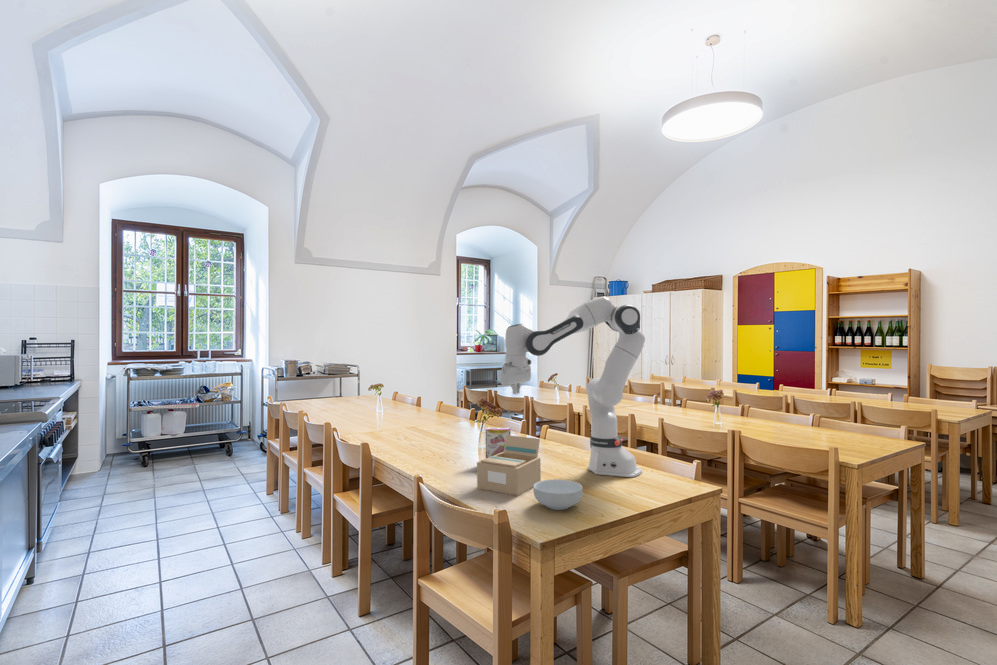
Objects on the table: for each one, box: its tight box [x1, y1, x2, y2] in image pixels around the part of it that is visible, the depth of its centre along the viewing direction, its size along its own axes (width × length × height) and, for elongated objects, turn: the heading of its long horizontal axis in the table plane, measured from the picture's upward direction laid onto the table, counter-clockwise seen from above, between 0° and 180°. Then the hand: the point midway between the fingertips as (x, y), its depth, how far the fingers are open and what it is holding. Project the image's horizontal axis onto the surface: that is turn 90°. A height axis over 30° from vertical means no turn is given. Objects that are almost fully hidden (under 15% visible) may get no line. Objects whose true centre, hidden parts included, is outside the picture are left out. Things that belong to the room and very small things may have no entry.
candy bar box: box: [485, 427, 512, 459], centre depth 226 cm, size 11×5×16 cm, turn 84°
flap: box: [480, 456, 526, 467], centre depth 191 cm, size 15×8×1 cm, turn 58°
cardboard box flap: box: [504, 435, 541, 457], centre depth 204 cm, size 15×7×1 cm
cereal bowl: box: [532, 478, 584, 511], centre depth 172 cm, size 17×17×7 cm
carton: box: [476, 452, 542, 497], centre depth 195 cm, size 18×18×10 cm
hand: (516, 393), depth 216 cm, fingers closed
